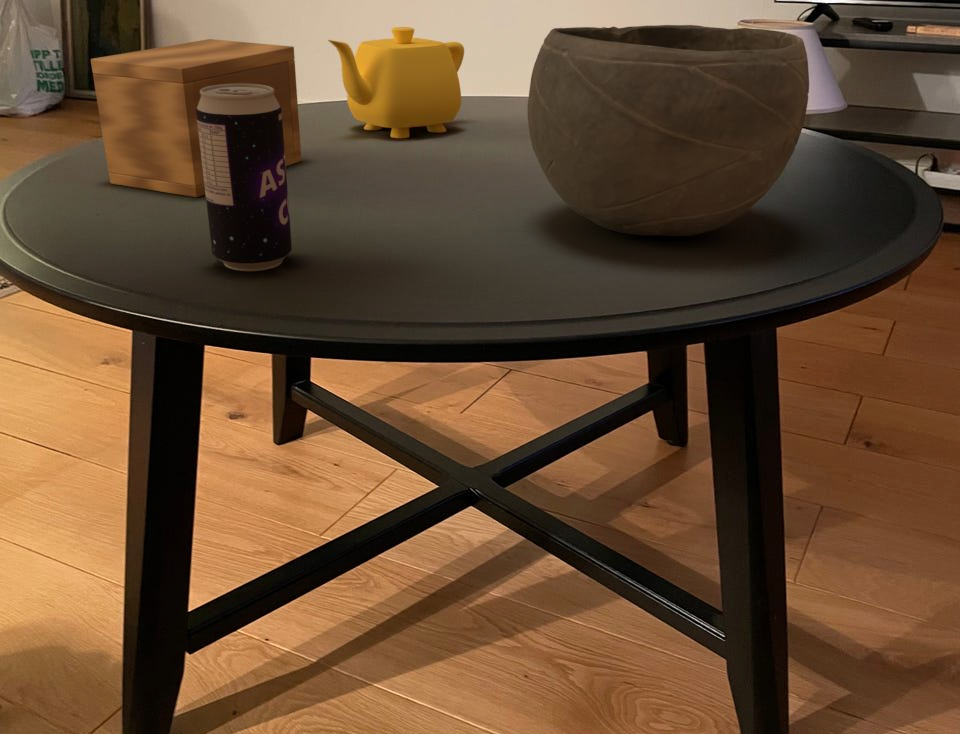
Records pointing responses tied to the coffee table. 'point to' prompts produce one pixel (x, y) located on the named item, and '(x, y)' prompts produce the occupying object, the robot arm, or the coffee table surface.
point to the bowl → (666, 122)
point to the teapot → (402, 82)
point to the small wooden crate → (181, 107)
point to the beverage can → (244, 175)
